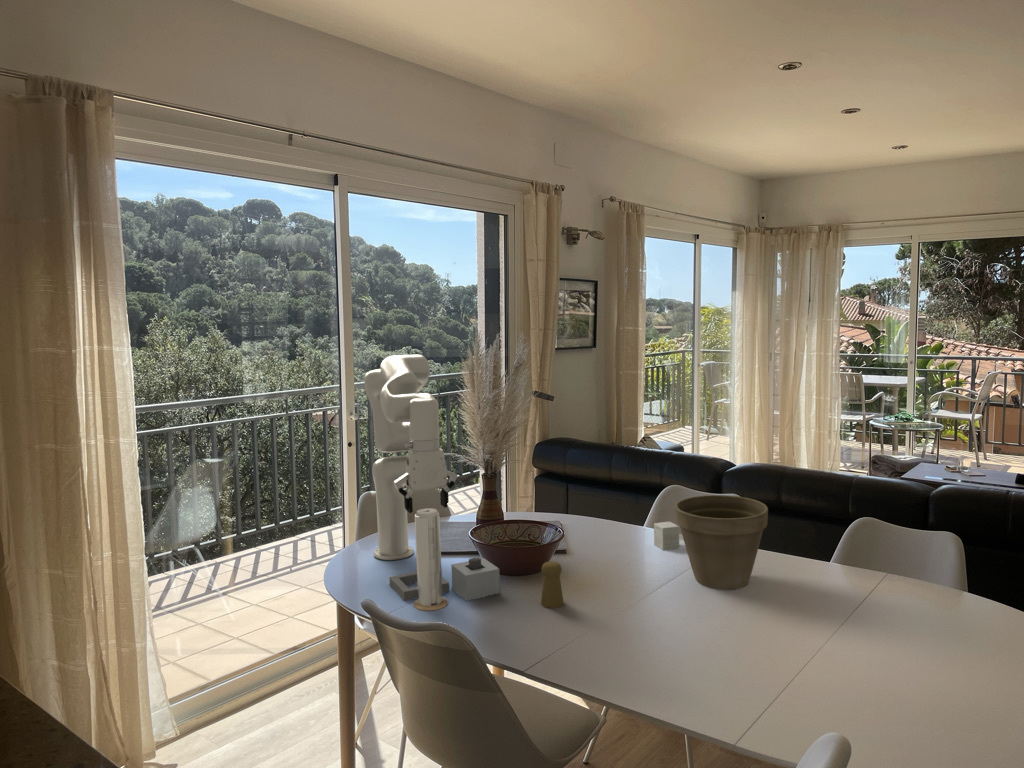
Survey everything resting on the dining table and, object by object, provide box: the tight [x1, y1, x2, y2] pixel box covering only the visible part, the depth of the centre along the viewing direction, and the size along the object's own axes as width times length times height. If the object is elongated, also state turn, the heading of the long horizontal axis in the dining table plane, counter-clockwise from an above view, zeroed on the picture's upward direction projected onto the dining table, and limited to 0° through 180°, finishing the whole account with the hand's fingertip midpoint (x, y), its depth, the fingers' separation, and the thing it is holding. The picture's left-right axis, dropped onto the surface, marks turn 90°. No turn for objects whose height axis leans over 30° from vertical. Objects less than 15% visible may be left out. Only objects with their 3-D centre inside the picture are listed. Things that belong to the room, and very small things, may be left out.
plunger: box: [468, 557, 482, 570], centre depth 201 cm, size 3×3×4 cm
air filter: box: [414, 507, 444, 607], centre depth 193 cm, size 6×6×25 cm
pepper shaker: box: [540, 560, 565, 609], centre depth 192 cm, size 6×6×11 cm
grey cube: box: [653, 521, 680, 551], centre depth 235 cm, size 6×6×7 cm
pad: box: [413, 597, 449, 612], centre depth 194 cm, size 9×9×1 cm
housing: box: [451, 557, 501, 601], centre depth 202 cm, size 10×10×7 cm
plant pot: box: [674, 494, 769, 590], centre depth 205 cm, size 25×25×22 cm
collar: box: [388, 571, 450, 602], centre depth 205 cm, size 13×13×2 cm
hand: (426, 508), depth 192 cm, fingers open, 9 cm apart
